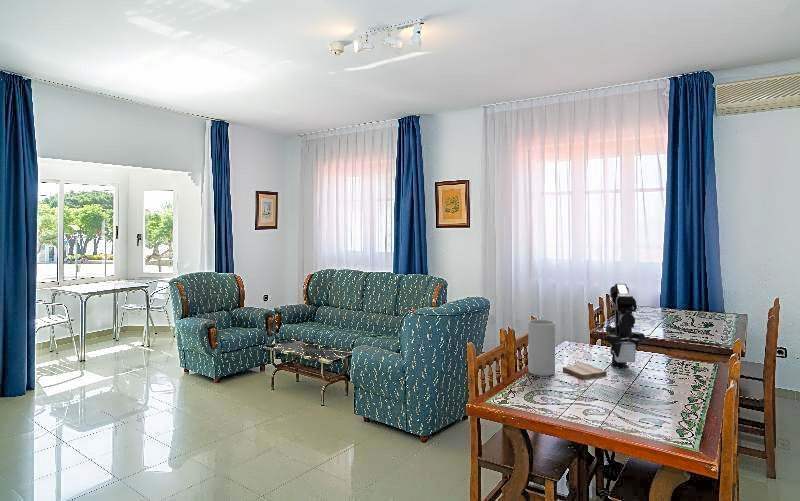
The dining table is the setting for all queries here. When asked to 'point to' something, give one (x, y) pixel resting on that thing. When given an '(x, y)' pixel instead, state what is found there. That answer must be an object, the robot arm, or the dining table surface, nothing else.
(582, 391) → the dining table surface
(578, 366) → the walnut block
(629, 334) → the robot arm
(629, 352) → the medicine box
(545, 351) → the cylinder vase
